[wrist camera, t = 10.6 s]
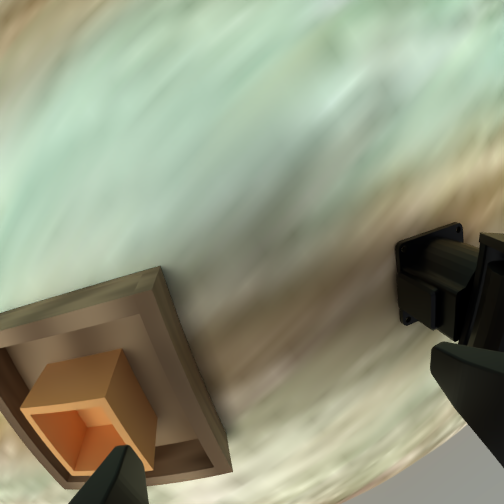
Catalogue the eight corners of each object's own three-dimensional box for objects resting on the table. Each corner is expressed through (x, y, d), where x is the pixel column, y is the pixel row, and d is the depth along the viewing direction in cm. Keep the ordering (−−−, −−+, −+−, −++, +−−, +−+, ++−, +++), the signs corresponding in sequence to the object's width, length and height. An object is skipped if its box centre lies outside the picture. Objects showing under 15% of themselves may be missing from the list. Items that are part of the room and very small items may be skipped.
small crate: (121, 348, 18) (105, 397, 13) (157, 417, 20) (153, 470, 15) (47, 364, 18) (19, 408, 13) (86, 428, 19) (72, 475, 14)
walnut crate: (160, 265, 18) (151, 289, 14) (226, 433, 22) (232, 471, 18) (-12, 316, 17) (-40, 341, 13) (74, 456, 21) (64, 489, 17)
